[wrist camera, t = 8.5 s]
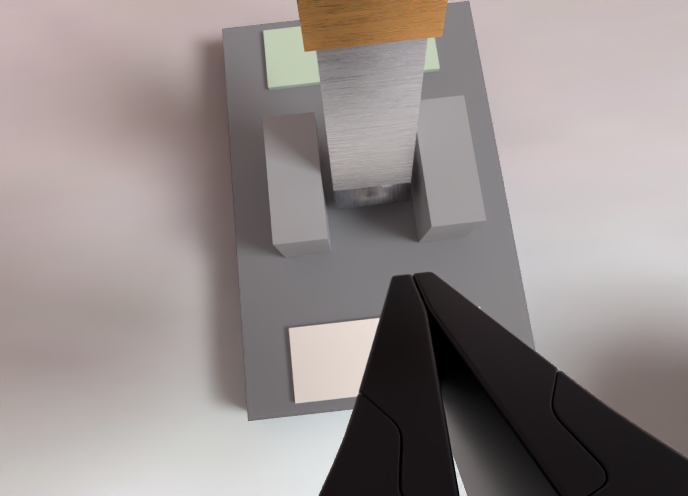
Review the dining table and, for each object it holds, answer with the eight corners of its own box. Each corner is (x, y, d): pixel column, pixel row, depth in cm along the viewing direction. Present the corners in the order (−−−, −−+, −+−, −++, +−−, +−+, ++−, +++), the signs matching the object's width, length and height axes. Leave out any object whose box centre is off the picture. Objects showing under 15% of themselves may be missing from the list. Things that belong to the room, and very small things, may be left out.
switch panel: (527, 382, 19) (581, 400, 14) (256, 413, 19) (226, 441, 14) (461, 22, 22) (488, -54, 17) (231, 49, 22) (200, -22, 17)
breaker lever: (416, 212, 17) (453, -41, 9) (330, 222, 17) (293, -23, 9) (406, 172, 19) (433, -83, 11) (326, 181, 19) (290, -67, 11)
